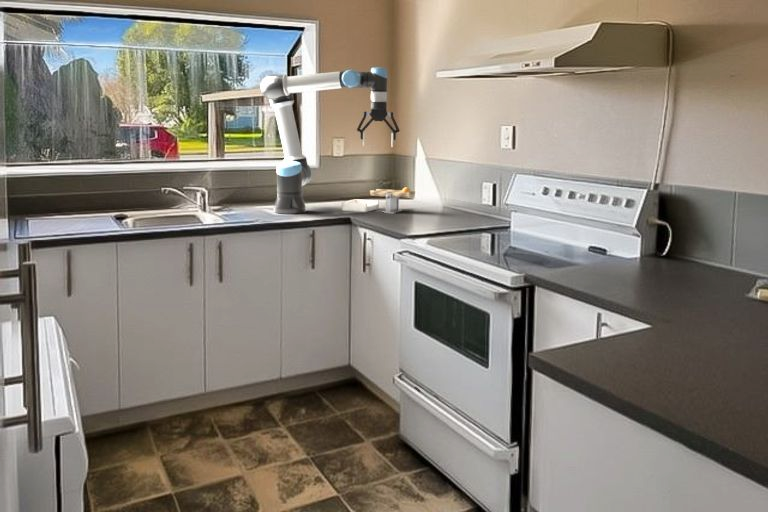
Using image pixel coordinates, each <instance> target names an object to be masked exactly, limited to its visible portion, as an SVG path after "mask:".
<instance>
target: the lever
mask: <svg viewBox="0 0 768 512" xmlns="http://www.w3.org/2000/svg"><path fill="white" fill-rule="evenodd" d="M402 190H403V189H402ZM402 190H401V189H387V188H386V189H384V188H381V189H380V188H376V189H375V190H373V189H372V190H369V194H370V196H374V197H386V193H391V197H399V198H404V199H405V198H407V199H409V198H410V199H411V198H414V197H415V195H416V191H415V190H410V192H402Z"/></svg>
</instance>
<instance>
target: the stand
mask: <svg viewBox="0 0 768 512" xmlns="http://www.w3.org/2000/svg"><path fill="white" fill-rule="evenodd" d="M399 208H400V197H391V193H386V196H385V210H382V211H381V213H382V212H384V213H383V214H396V212H397V213H400V212H403V209H402V208H400V209H399Z"/></svg>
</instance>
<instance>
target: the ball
mask: <svg viewBox="0 0 768 512" xmlns="http://www.w3.org/2000/svg"><path fill="white" fill-rule="evenodd" d="M410 191H411V189H410V188H409V187H407V186H406V187H404V188H402V192H410Z"/></svg>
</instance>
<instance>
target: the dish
mask: <svg viewBox="0 0 768 512" xmlns="http://www.w3.org/2000/svg"><path fill="white" fill-rule="evenodd" d="M379 204H380V203H379V200H374V199H358V198H354V199H350V200H347V201H346V200H345V201H342V202H341V211H342V212H343V211H344V212H345V211H346V212H360V213H368V212H372V211H375V210H379Z"/></svg>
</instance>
